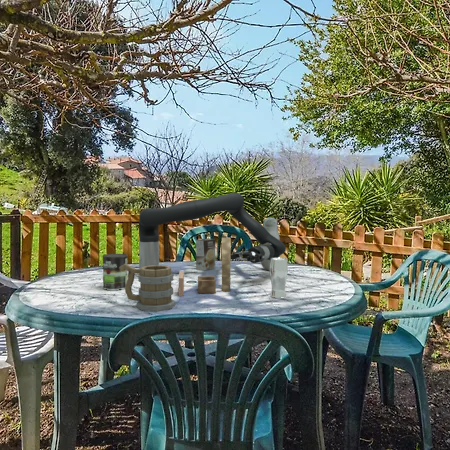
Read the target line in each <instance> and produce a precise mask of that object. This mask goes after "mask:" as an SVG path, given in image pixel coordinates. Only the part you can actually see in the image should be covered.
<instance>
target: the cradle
mask: <svg viewBox="0 0 450 450" xmlns="http://www.w3.org/2000/svg"><path fill="white" fill-rule="evenodd" d="M215 278H216V277H215V275H213V276H211V275H210V276H209V275H207V276H206V275H205V276H204V275H202V276H197V293H198V294H212V293H213V294H216V293H217V287H216V286H217V283H216V282H217V281H216V279H215Z"/></svg>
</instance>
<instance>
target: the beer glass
mask: <svg viewBox="0 0 450 450" xmlns="http://www.w3.org/2000/svg"><path fill="white" fill-rule="evenodd" d="M288 268H289V267H288V258H286V257H280V258H271V259H270V270H269V278H270V282H271V292H270V297H271V298H272V297H276V298H275V299H277V298H281V297H286V298H287V294H286V284H287V279H288V270H289V269H288ZM281 299H282V298H281Z"/></svg>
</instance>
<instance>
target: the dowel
mask: <svg viewBox="0 0 450 450" xmlns="http://www.w3.org/2000/svg"><path fill="white" fill-rule="evenodd" d="M231 239H232V238H231V237H221V291H222V292H227V293H228V292H231V271H232V270H231V267H232V266H231V261H232V260H231V254H232V252H231V251H232V250H231V246H232V245H231V243H232V241H231Z"/></svg>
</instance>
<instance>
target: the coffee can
mask: <svg viewBox="0 0 450 450" xmlns="http://www.w3.org/2000/svg"><path fill="white" fill-rule="evenodd" d="M124 264H128V254H125V253H108V254H103V255H102V280H103V281H102V283H103V284H102V289H103V290H104V289H107V290H106V291H110V290H116V291H120V290H119V289H124V290H125V285H126V283H127V280H128V271H127V270H123V271H121V270H120V269H119V267H120V266H122V265H124Z"/></svg>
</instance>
